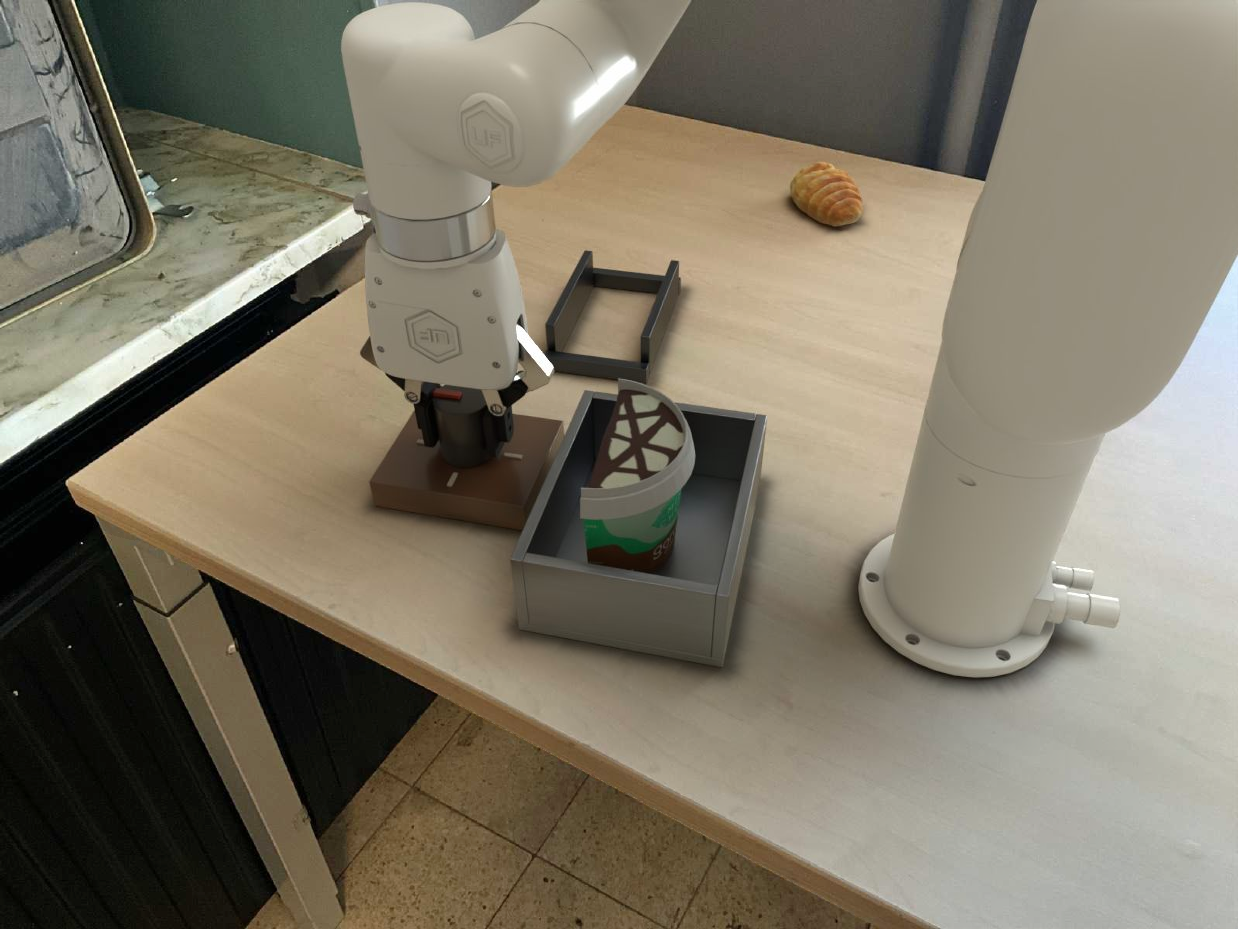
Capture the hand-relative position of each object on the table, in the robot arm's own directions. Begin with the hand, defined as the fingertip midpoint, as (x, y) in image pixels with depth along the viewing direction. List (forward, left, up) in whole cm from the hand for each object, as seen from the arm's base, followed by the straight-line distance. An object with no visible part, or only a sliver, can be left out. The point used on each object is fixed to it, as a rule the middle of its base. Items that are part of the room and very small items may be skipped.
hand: (467, 438), depth 75 cm
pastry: (-23, -50, -4) cm, 55 cm away
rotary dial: (0, 0, -4) cm, 4 cm away
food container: (-15, +5, -3) cm, 16 cm away
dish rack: (-6, -22, -4) cm, 23 cm away
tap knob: (0, 0, -1) cm, 1 cm away
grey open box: (-15, +5, -4) cm, 16 cm away
